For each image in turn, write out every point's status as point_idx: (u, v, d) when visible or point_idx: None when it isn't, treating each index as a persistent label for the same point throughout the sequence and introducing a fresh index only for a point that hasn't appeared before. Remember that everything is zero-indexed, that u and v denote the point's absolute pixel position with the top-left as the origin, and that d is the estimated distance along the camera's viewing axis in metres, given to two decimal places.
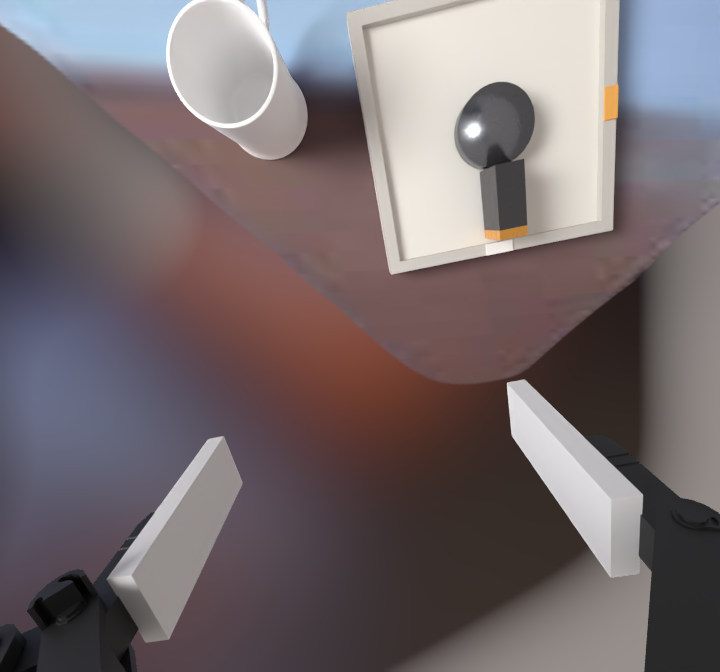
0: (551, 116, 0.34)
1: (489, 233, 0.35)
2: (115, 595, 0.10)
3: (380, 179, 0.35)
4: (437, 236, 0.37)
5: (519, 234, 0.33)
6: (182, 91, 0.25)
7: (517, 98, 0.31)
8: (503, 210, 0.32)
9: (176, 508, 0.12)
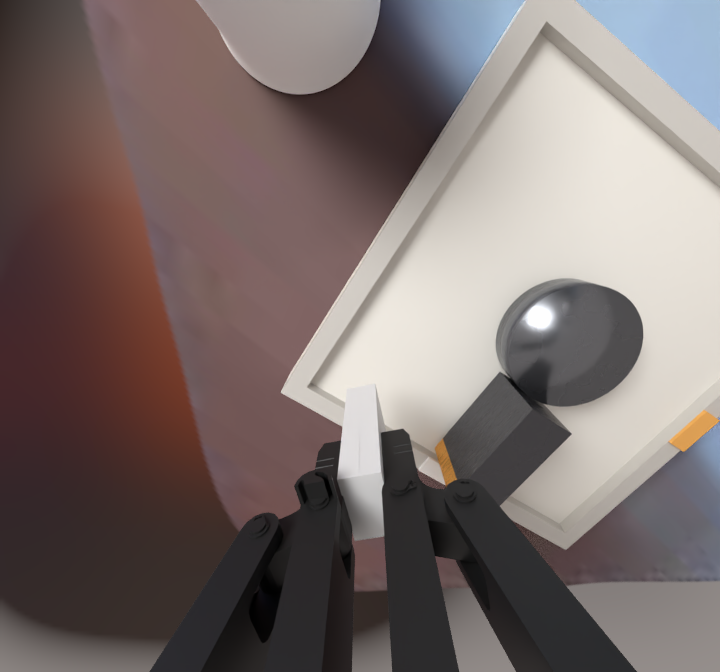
0: (627, 383, 0.22)
1: (444, 456, 0.21)
2: (340, 495, 0.11)
3: (374, 264, 0.19)
4: (382, 395, 0.22)
5: None
6: None
7: (628, 341, 0.18)
8: (487, 469, 0.18)
9: (359, 434, 0.13)
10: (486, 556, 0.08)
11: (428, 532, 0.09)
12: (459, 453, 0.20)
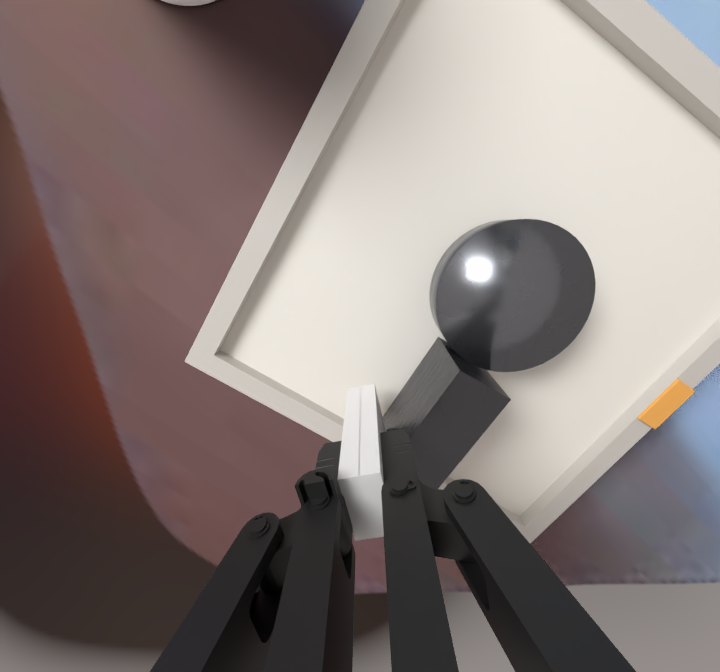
0: (588, 349, 0.19)
1: None
2: (340, 495, 0.11)
3: (279, 203, 0.16)
4: (305, 365, 0.19)
5: None
6: None
7: (577, 288, 0.15)
8: (414, 447, 0.15)
9: (359, 434, 0.13)
10: (485, 556, 0.08)
11: (427, 532, 0.09)
12: None
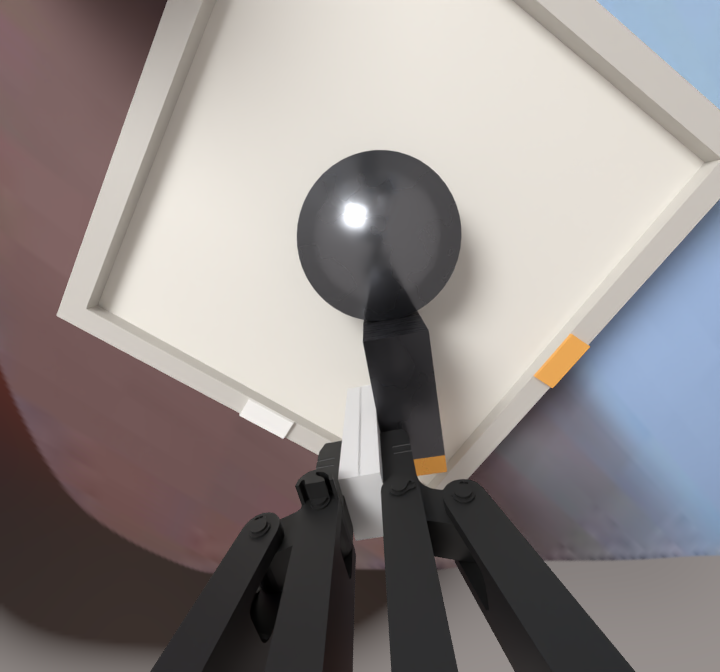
0: (480, 304, 0.18)
1: None
2: (341, 495, 0.11)
3: (134, 140, 0.15)
4: (188, 321, 0.18)
5: (429, 471, 0.15)
6: None
7: (420, 185, 0.14)
8: (389, 428, 0.14)
9: (359, 434, 0.13)
10: (485, 556, 0.08)
11: (427, 532, 0.09)
12: None
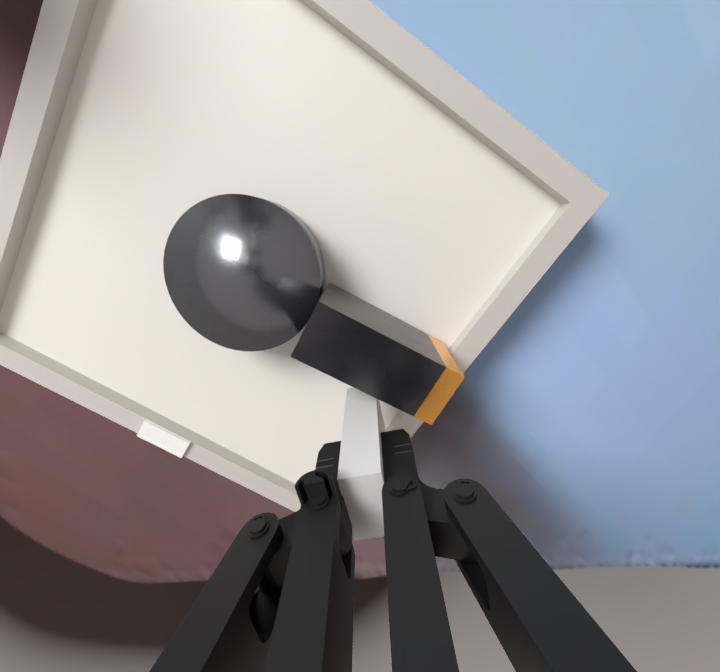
0: None
1: None
2: (340, 495, 0.11)
3: (11, 177, 0.16)
4: (84, 346, 0.19)
5: (451, 390, 0.14)
6: None
7: (219, 215, 0.14)
8: (382, 390, 0.14)
9: (359, 435, 0.13)
10: (486, 556, 0.08)
11: (428, 532, 0.09)
12: None
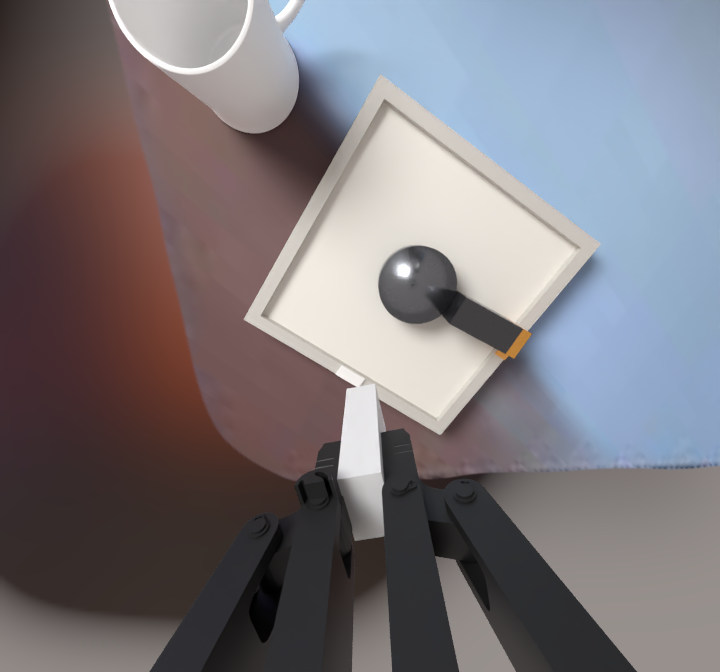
0: None
1: None
2: (340, 495, 0.11)
3: (298, 235, 0.31)
4: (310, 323, 0.34)
5: (524, 340, 0.29)
6: None
7: (411, 255, 0.30)
8: (491, 340, 0.29)
9: (358, 434, 0.13)
10: (486, 556, 0.08)
11: (428, 532, 0.09)
12: None
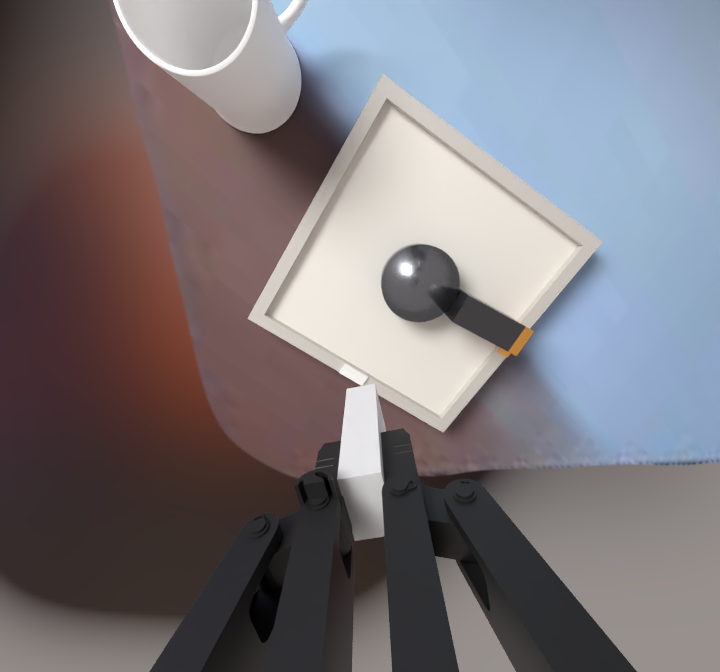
0: None
1: None
2: (340, 495, 0.11)
3: (301, 234, 0.31)
4: (313, 322, 0.34)
5: (527, 338, 0.29)
6: None
7: (414, 254, 0.30)
8: (494, 338, 0.30)
9: (358, 435, 0.13)
10: (486, 556, 0.08)
11: (428, 532, 0.09)
12: None
